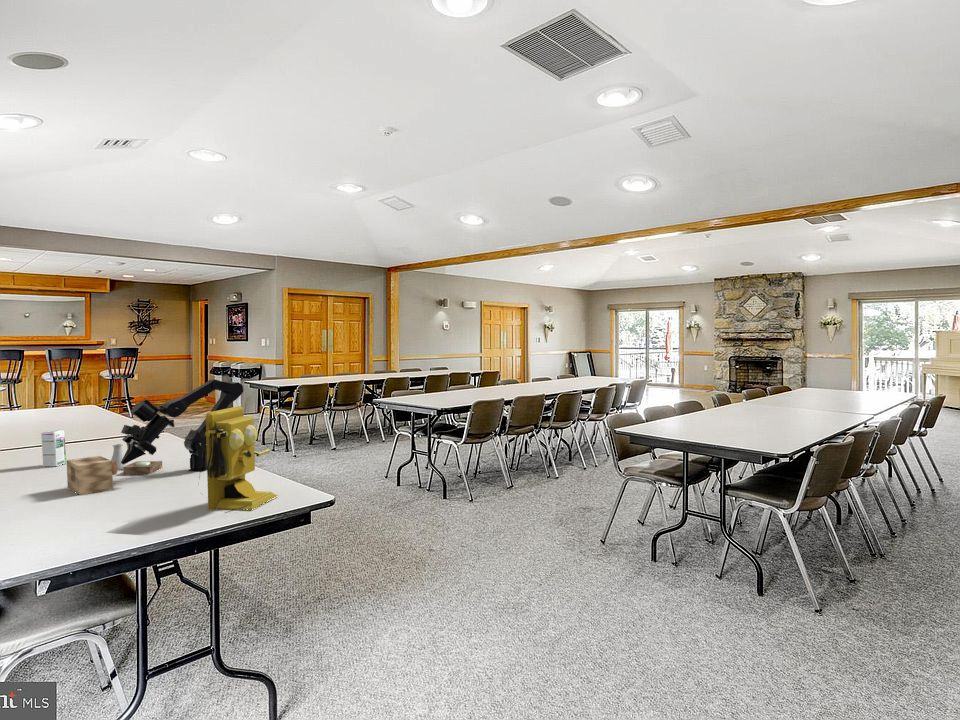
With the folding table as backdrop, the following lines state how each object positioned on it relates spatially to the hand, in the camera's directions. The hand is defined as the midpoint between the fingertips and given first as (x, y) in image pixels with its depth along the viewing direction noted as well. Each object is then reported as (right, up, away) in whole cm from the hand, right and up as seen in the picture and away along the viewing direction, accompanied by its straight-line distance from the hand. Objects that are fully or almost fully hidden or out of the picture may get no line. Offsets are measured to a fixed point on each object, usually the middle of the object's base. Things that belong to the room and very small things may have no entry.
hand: (122, 463), depth 211 cm
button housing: (-3, -6, +19) cm, 20 cm away
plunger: (-4, -4, -5) cm, 7 cm away
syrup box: (-47, -6, +30) cm, 56 cm away
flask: (-16, -7, +23) cm, 29 cm away
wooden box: (-7, -8, -7) cm, 12 cm away
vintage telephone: (+55, -8, -27) cm, 62 cm away
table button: (-3, -6, +18) cm, 20 cm away
